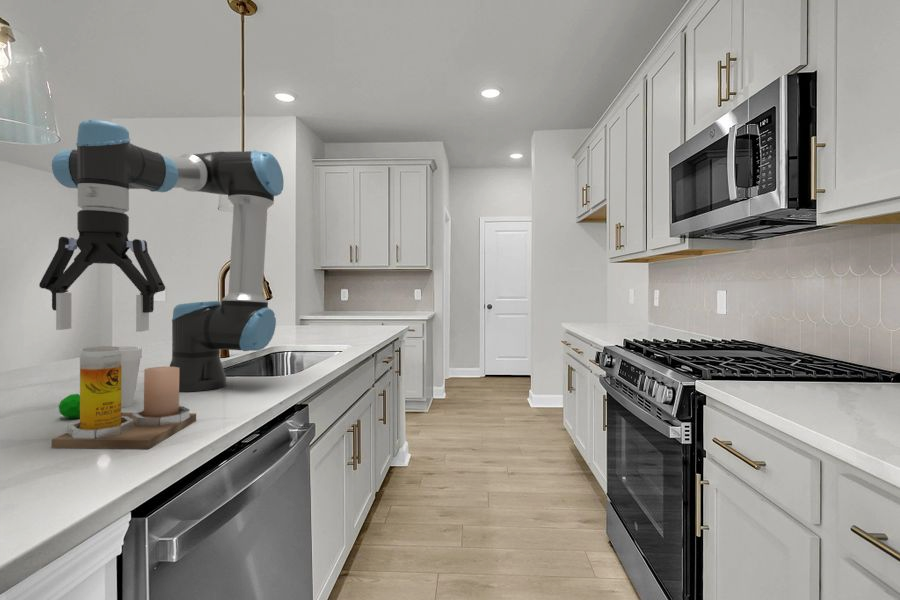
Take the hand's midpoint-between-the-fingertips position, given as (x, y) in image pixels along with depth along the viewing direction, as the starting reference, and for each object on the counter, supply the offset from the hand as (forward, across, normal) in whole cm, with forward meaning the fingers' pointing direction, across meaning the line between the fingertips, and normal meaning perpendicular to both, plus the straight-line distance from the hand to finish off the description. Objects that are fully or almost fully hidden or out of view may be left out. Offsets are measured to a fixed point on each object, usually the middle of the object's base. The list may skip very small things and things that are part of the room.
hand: (103, 330), depth 89 cm
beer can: (+18, 0, 0) cm, 18 cm away
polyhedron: (+20, -14, +14) cm, 28 cm away
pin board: (+20, +3, +4) cm, 20 cm away
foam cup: (+20, -12, +24) cm, 34 cm away
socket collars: (+18, +3, +4) cm, 19 cm away
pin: (+18, +6, +8) cm, 21 cm away
